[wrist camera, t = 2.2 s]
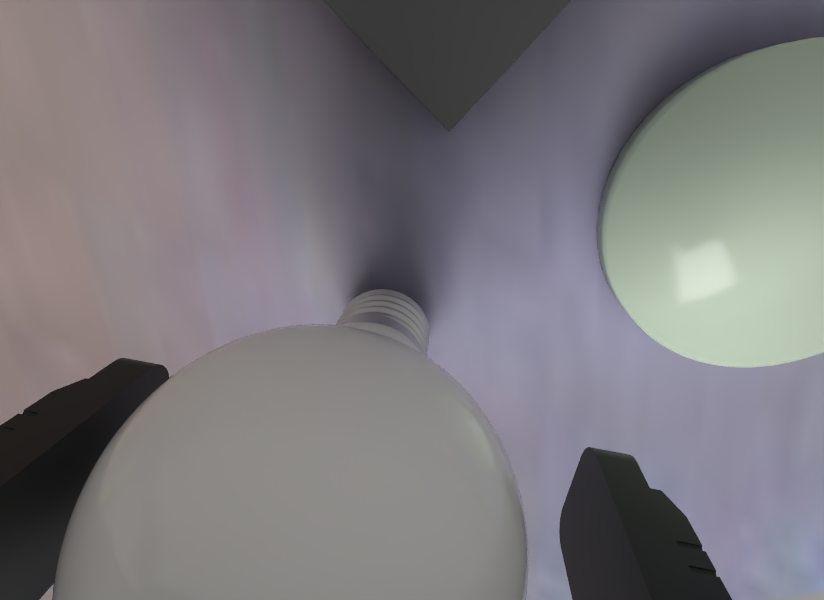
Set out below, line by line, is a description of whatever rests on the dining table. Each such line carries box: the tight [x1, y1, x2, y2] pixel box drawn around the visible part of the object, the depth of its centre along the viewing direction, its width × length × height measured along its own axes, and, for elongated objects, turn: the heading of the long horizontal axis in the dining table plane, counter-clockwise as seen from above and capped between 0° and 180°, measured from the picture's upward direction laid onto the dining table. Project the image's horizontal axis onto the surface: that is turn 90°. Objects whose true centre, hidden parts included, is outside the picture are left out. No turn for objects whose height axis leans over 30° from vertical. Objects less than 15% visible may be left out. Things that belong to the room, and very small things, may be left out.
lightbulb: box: [52, 289, 528, 600], centre depth 9 cm, size 6×6×11 cm
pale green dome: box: [597, 37, 824, 367], centre depth 12 cm, size 8×8×1 cm
